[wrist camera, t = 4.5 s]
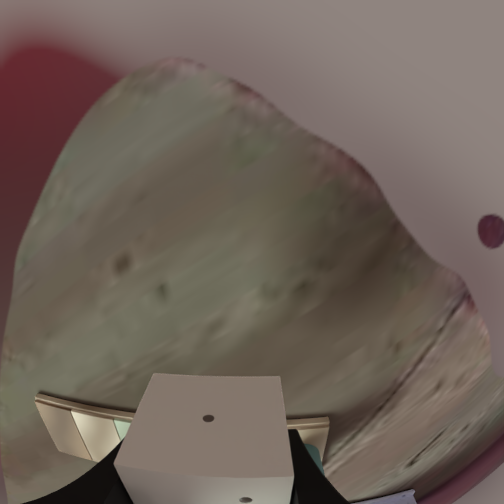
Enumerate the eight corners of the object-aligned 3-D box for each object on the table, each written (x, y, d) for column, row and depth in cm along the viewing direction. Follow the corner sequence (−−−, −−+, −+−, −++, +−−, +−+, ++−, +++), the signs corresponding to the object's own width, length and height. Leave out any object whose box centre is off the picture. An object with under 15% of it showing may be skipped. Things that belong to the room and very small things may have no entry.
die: (279, 374, 12) (294, 476, 7) (274, 455, 13) (282, 541, 8) (153, 371, 12) (112, 463, 7) (171, 451, 13) (151, 533, 8)
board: (328, 416, 20) (330, 424, 19) (316, 470, 22) (318, 477, 21) (38, 393, 20) (33, 398, 19) (62, 446, 22) (59, 452, 21)
